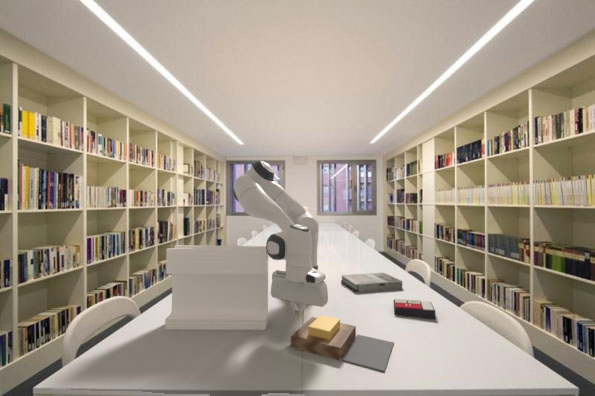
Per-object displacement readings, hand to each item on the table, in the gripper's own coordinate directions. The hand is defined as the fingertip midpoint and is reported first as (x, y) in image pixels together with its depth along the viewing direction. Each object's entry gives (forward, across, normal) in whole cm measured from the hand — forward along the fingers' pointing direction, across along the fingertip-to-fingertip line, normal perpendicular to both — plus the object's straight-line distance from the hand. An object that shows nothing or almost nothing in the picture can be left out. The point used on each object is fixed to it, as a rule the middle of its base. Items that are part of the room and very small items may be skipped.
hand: (297, 314), depth 95 cm
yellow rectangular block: (+3, +10, 0) cm, 10 cm away
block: (+7, -29, -6) cm, 31 cm away
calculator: (+7, +32, +41) cm, 53 cm away
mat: (+7, +24, +1) cm, 25 cm away
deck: (+7, +10, 0) cm, 12 cm away
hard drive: (+7, +9, +70) cm, 71 cm away
